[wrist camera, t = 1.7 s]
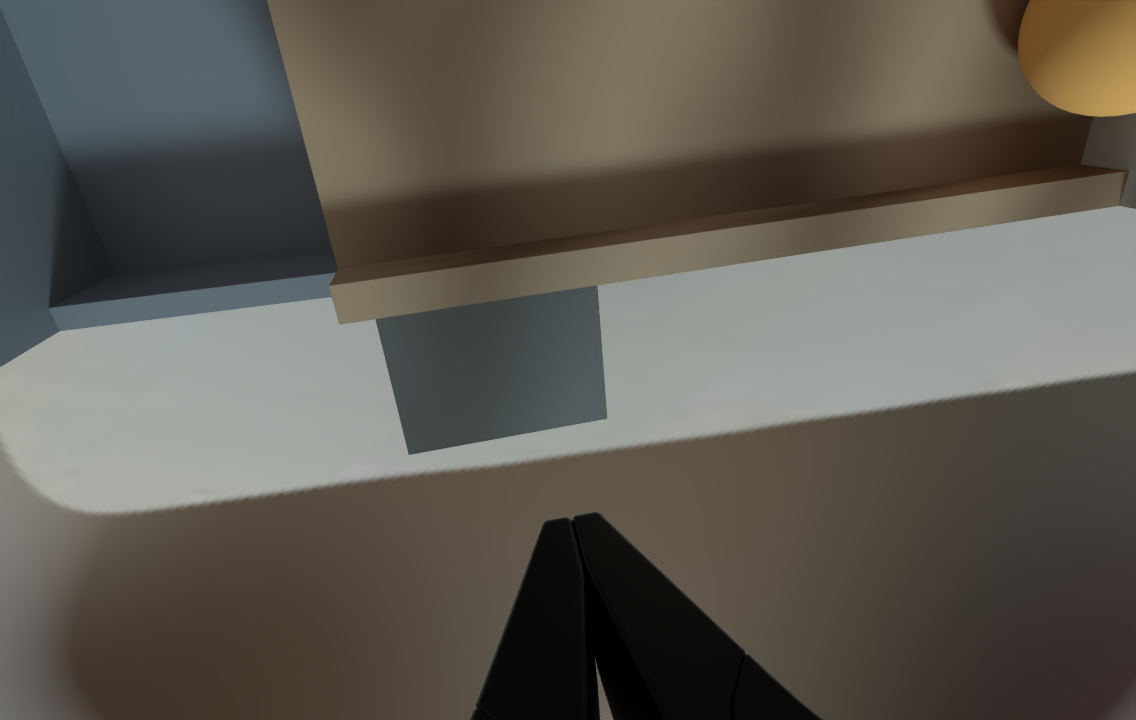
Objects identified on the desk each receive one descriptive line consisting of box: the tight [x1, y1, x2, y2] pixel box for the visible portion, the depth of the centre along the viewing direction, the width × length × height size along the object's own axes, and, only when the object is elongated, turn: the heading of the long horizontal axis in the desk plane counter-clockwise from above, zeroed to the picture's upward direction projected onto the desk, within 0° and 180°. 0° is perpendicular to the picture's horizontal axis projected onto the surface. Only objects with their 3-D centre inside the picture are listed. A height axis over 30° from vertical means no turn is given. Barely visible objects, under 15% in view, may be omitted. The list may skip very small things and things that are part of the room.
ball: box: [1018, 0, 1136, 117], centre depth 12 cm, size 4×4×4 cm
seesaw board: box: [267, 0, 1136, 455], centre depth 12 cm, size 22×12×5 cm, turn 94°
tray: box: [0, 0, 338, 366], centre depth 14 cm, size 8×9×6 cm
